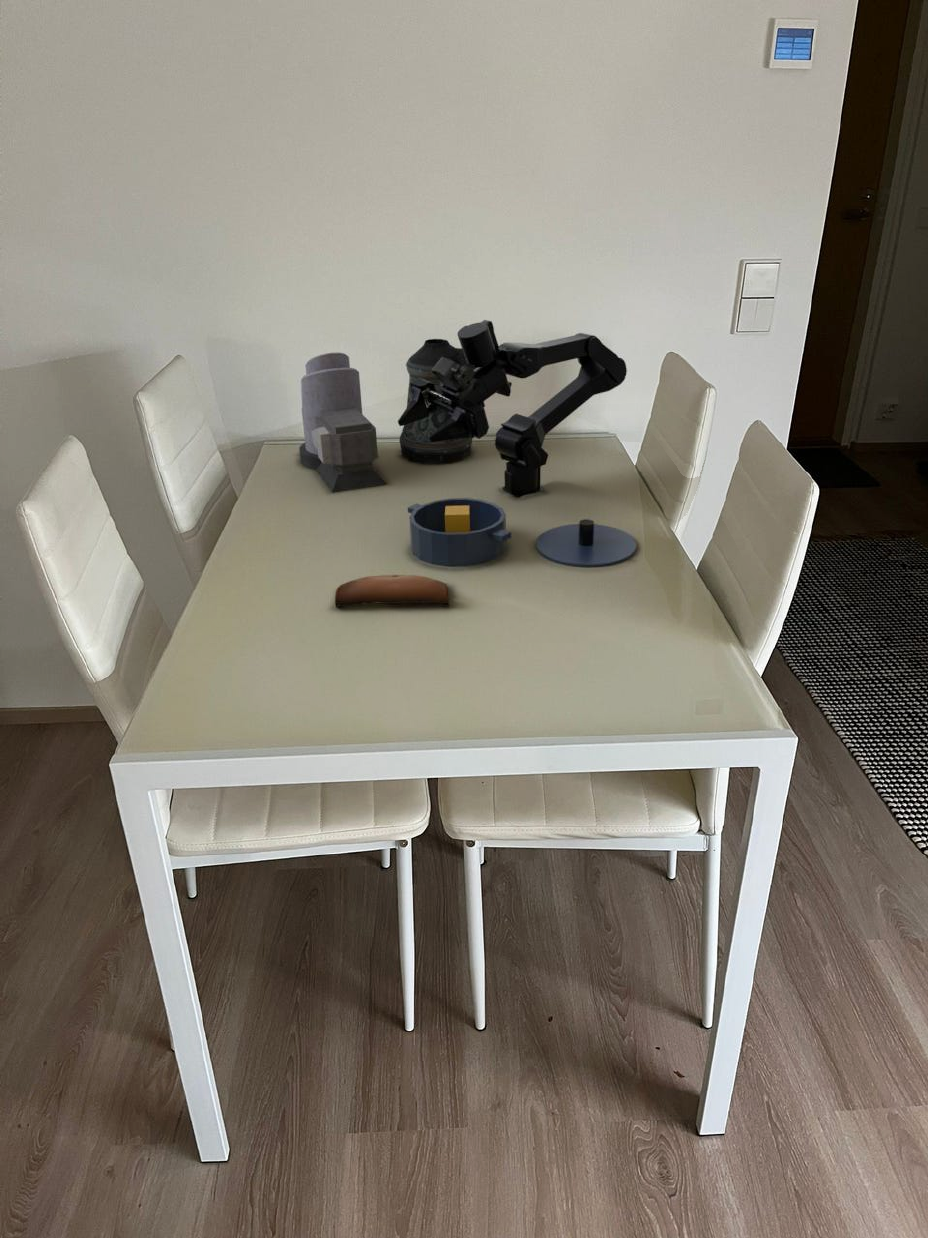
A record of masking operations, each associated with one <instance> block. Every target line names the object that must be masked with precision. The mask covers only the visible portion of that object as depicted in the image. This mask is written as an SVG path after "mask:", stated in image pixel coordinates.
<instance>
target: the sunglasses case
mask: <svg viewBox="0 0 928 1238" xmlns="http://www.w3.org/2000/svg"><path fill="white" fill-rule="evenodd" d="M448 585H449V584H448V583H445V582H443V581H440V580H438V579H435V578H431V577H427V576H422V575H418V574H381V575H370V576H364V577H359V578H356V579H353V580H350V581H347V582H345V583H341V584H340V585H339V586H338V587H337V588H336V590H335V594H334V595H335V596H334V603H335V604H334V605H335V608H337V607H346V606H356V605H370V604H376V603H378V604H379V603H380V604H399V603H400V604H401V603H409V604H412V603H413V604H414V603H415V604H416V603H417V604H418V603H441V604H442V603H443V604H444V603H445V604H447V605H450V602H451V601H450V598H449V588H448Z"/></svg>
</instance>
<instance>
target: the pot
mask: <svg viewBox="0 0 928 1238" xmlns="http://www.w3.org/2000/svg"><path fill="white" fill-rule="evenodd" d="M446 506H469V507H470V532H465V533H446V530H445V508H446ZM407 513H408V514H409V517H408V518H409V534H410V535H409V536H410V548H411V552H412V555H413V556H414V557H416V558H417V559H419V561H422V562H424V563H427V564H430V565H434V566H440V567H441V566H442V567H448V568H453V567H454V568H457V567H458V568H459V567H471V566H477V565H483V564H485V563H488V562H490V561H493V560H496V559H497V558H498V557H500V556H501V555H503V554H504V552H505V550H506V548H507V540H509V539H511V538H512V532H511V531H509V530H507V514H506V511H505V510H504V508H502V506H500V505H498V504H496V503H495V502H491V501H487V500H483V499H478V498H469V497H460V498H459V497H456V498H453V497H452V498H445V499H438V500H434V501H430V502H428V503H427V502H426V503H424V504H420V503H414V504H412V505H410V506H407Z"/></svg>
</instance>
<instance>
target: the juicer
mask: <svg viewBox="0 0 928 1238" xmlns="http://www.w3.org/2000/svg"><path fill="white" fill-rule="evenodd" d="M360 381H361V380H360V372H359V371H358V370H357V369H356V368H353V367H351V364H350V356H349V355H347V354H346V353H344V352H327V353H321V354H319V355H316V356H314V357H311V358H310V359H308V360H307V362H306V363H305V375H302V378H301V379H300V388H301V389H300V393H301V417H302V426H303V435H304V436H303V437H304V442H303V443H302V444H300V446H299V448H298V450H299V451H298V452H299V459H300V464H301V465H302V466H303V467H305V468H308V469H310V470H315V471H316V472H317V474H318V476H320V478H321V479H322V480H323V482H324V484H325V485H326V486H327V488H328V489H329V491H330V492H331V493H337V492H344V491H351V490H357V489H363V488H370V487H376V486H382V485H388V483H387V482H386V481H385V480H384V478H383V477H382V476H381V475H380V474H379V473H378V471H376V470H375V468H374V467H373V466H374V465H373V462H375V460H377V459H378V458H379V453H378V440H377V439H378V438H377V427H376V426H375V425H374V424H373V423H372V422H371V421H370V420H369V419H368V418H367V417H366V416H365V415H364V414H363V404H362V393H361V391H362V390H361V382H360Z"/></svg>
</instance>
